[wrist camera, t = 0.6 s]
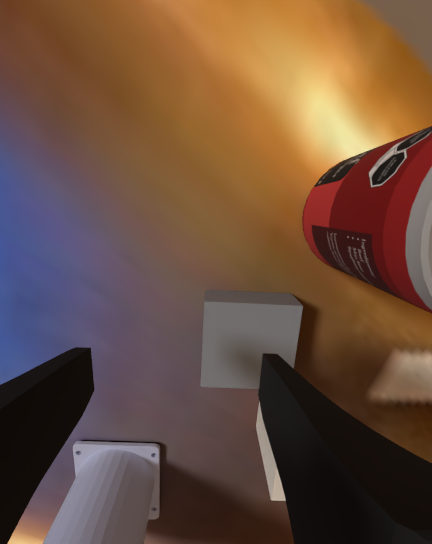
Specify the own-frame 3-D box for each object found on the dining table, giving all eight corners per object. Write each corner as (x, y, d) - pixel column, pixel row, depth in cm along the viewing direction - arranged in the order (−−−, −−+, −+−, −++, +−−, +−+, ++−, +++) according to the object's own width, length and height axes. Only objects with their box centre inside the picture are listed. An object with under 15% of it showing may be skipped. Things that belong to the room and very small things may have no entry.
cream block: (297, 428, 23) (326, 501, 17) (256, 427, 23) (271, 500, 17) (303, 393, 22) (336, 458, 16) (260, 391, 22) (278, 456, 16)
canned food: (411, 160, 17) (733, 79, 7) (387, 268, 19) (605, 340, 9) (306, 154, 17) (464, 62, 6) (292, 264, 19) (395, 333, 8)
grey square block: (279, 366, 22) (290, 389, 19) (201, 363, 21) (200, 386, 19) (289, 292, 20) (303, 305, 17) (205, 288, 20) (204, 301, 17)
